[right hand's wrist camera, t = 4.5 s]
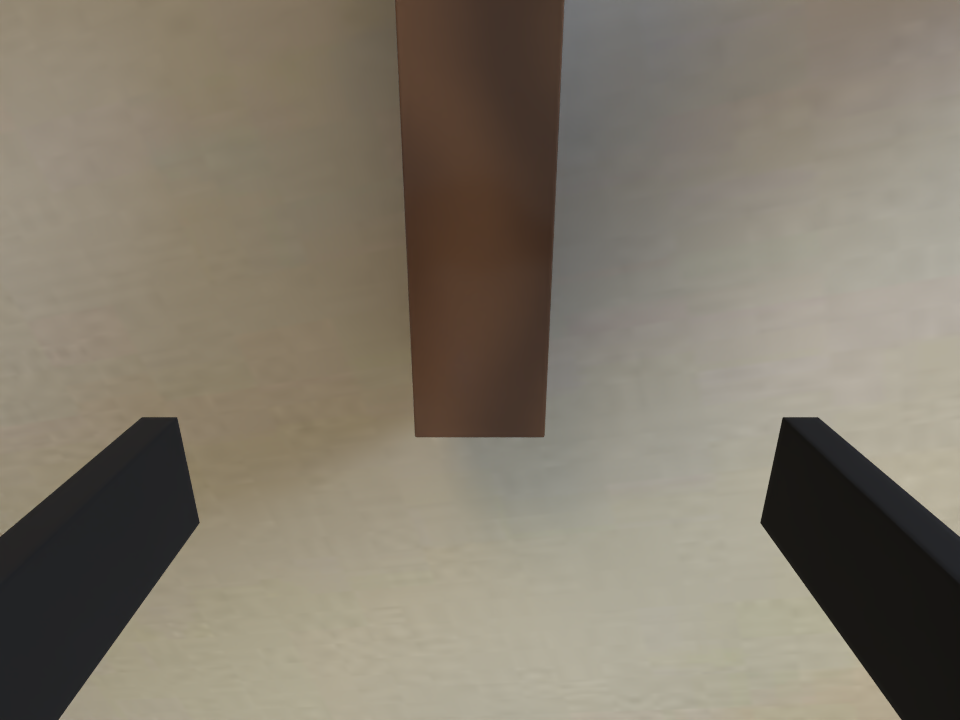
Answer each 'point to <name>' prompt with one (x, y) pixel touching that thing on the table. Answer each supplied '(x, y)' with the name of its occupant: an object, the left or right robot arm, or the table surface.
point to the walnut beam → (479, 208)
